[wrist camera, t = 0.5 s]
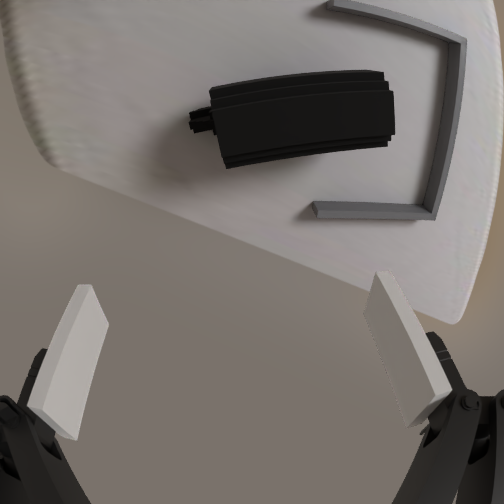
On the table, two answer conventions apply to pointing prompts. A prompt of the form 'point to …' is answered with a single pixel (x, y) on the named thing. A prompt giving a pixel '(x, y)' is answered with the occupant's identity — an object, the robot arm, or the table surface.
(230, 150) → the security camera
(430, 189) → the grey u-shaped frame
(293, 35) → the table surface
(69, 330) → the robot arm
